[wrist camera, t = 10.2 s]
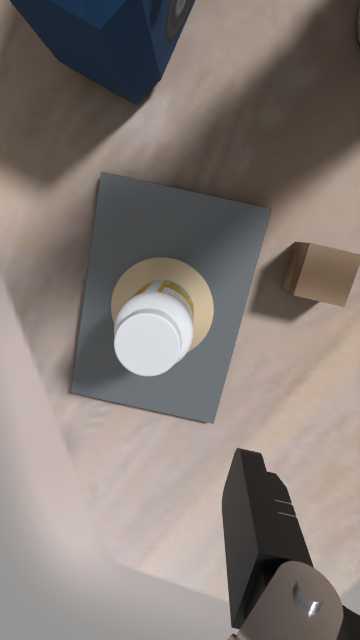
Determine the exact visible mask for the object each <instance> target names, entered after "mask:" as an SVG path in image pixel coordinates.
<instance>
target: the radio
mask: <svg viewBox="0 0 360 640" xmlns="http://www.w3.org/2000/svg"><path fill="white" fill-rule="evenodd" d="M10 1H11V3H12V4H13V5H14V6H15V8H16V9H17V10H18V11H19V12H20V14H21V15H22V16H23V17H24V19H25V20H26V21H27V22H28V24H29V25H30V26H31V27H32V28H33V30H34V31H35V32H36V33H37V35H38V36H39V37H40V38H41V40H42V41H43V42H44V43H45V45H46V46H47V47H48V48H49V49H50V51H51V52H52V53H53V54H54V56H55V57H56V58H57V59H58V61H60V62H62V63H63V64H65V65H67V66H69V67H70V68H72V69H74V70H76V71H78V72H79V73H81V74H83V75H85V76H86V77H88V78H90V79H92V80H93V81H95V82H97V83H99V84H100V85H102V86H104V87H106V88H108V89H109V90H111V91H113V92H115V93H116V94H118V95H120V96H122V97H123V98H125V99H127V100H129V101H130V102H132V103H134V104H136V105H137V104H138V103H139V102H140V101H141V99H142V98H143V97H144V96H145V95H146V94H147V93H148V92H149V91H150V90H151V89H152V88H153V87H154V86H155V85H156V84H157V83H158V82H159V81H160V80H161V78H162V76H163V73H164V71H165V69H166V67H167V64H168V62H169V60H170V57H171V55H172V53H173V50H174V48H175V46H176V44H177V41H178V39H179V37H180V34H181V32H182V30H183V27H184V25H185V23H186V21H187V18H188V16H189V14H190V11H191V9H192V7H193V4H194V2H195V0H10Z"/></svg>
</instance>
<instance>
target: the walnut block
mask: <svg viewBox="0 0 360 640" xmlns="http://www.w3.org/2000/svg"><path fill="white" fill-rule="evenodd" d="M359 265H360V254H355V253H351V252H346V251H342V250H338V249H333V248H329V247H325V246H320V245H316V244H312V243H302V242H295V244H294V247H293V250H292V253H291V257H290V260H289V263H288V267H287V270H286V273H285V276H284V280H283V283H282V286H281V288H283V289H284V290H286V291H287V292H289V293H291V294H292V295H294V296H298V297H303V298H307V299H311V300H316V301H320V302H325V303H329V304H333V305H338V306H342V307H345V304H346V301H347V298H348V295H349V293H350V290H351V287H352V284H353V282H354V279H355V276H356V273H357V270H358V268H359Z"/></svg>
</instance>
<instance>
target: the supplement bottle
mask: <svg viewBox="0 0 360 640" xmlns="http://www.w3.org/2000/svg"><path fill="white" fill-rule="evenodd" d="M193 323H194V306H193V302H192V299H191V297H190V295H189V294H188V292H187V291H186V290H185V289H184V288H183V287H182V286H180V285H179V284H177V283H175V282H172V281H169V280H156V281H152V282H150V283H148V284H146V285H144V286H143V287H142V288H141V289H140V290H139V291H138V292H137V293H136V294H135V295H133V296H132V297H131V298H130V299H129V300H128V301H127V302H126V303H125V304H124V305H123V307H122V308H121V309H120V311H119V312H118V315H117V317H116V320H115V324H114V336H115V338H114V348H115V353H116V356H117V358H118V359H119V361H120V362H121V364H122V365H123V366H124V367H125V368H126V369H128V370H129V371H131V372H133V373H135V374H137V375H141V376H156V375H160V374H162V373H164V372H166V371H167V370H169V369H170V368H171V367H172V366H173V365H174V364H176V363H177V362H179V361H180V360H181V359H182V358H183V357H184V356H185V355H186V353H187V352H188V350H189V348H190V346H191V343H192V338H193Z"/></svg>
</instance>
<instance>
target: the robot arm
mask: <svg viewBox="0 0 360 640" xmlns="http://www.w3.org/2000/svg"><path fill="white" fill-rule="evenodd" d="M357 28H358V40H359V43H360V5H359V12H358V20H357ZM291 503H292V502H291V499H290V496H289V493H288V490H287V488H286V486H285V485H284V484H283V482H282V481H281V480H280V478H279V477H278V476H277V475H276V474H275V473H271V472H267V471H266V468H265V464H264V460H263V457H262V454H261V453H258V452H254V451H249V450H245V449H240V448H237V449H236V451H235V453H234V457H233V460H232V463H231V467H230V470H229V473H228V476H227V480H226V483H225V486H224V491H223V497H222V516H223V528H224V540H225V553H226V565H227V577H228V589H229V602H230V613H231V626H232V628H237V629H240V630H239V632H238V633H237V634H236V635H235V634H232V635H231V636H230V637H229V638H228V640H360V615H358V614H356V613H354V612H352V611H351V610H349V609H347V608H346V607H345V606H343V605H342V603H341V601H340V598H339V596H338V594H337V592H336V590H335V589H334V587H333V586H332V585H331V583H330V582H329V581H328V580H327V579H326V578H325V577H324V576H323V575H322V574H321V573H320V572H319V571H317V570H316V569H314V567H313V564H312V561H311V558H310V555H309V552H308V549H307V546H306V543H305V540H304V537H303V534H302V532H301V529H300V526H299V523H298V520H297V518H296V514H295V511H294V508H293V505H291Z"/></svg>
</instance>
